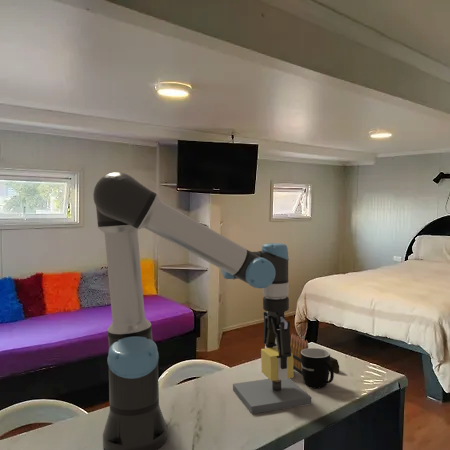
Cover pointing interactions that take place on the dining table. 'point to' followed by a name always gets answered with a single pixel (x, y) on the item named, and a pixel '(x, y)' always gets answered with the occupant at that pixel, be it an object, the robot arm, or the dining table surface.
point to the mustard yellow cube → (274, 363)
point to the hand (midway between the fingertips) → (277, 373)
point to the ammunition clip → (297, 351)
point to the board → (270, 395)
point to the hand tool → (334, 365)
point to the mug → (316, 367)
